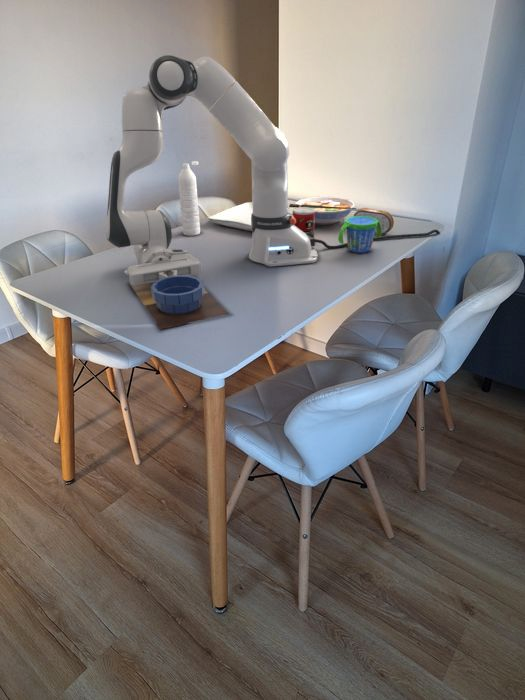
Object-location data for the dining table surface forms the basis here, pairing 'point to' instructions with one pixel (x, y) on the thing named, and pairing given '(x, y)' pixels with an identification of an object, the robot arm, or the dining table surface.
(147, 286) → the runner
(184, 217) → the water bottle
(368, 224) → the snack cup
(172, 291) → the bowl
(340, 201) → the ramen bowl
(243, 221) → the square plate
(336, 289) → the dining table surface
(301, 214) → the canned food
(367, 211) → the tin
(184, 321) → the mat
